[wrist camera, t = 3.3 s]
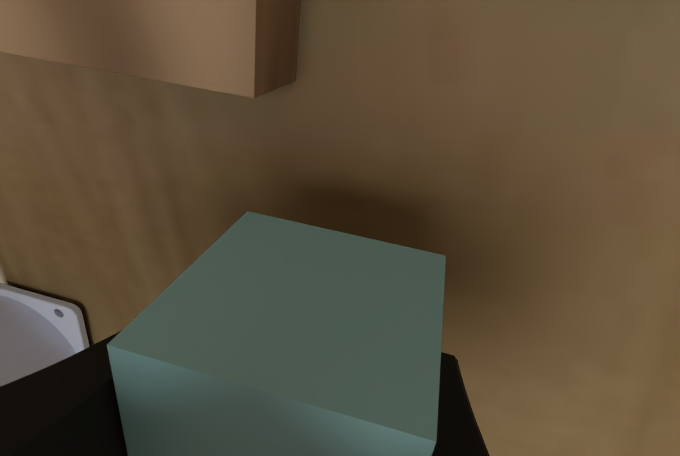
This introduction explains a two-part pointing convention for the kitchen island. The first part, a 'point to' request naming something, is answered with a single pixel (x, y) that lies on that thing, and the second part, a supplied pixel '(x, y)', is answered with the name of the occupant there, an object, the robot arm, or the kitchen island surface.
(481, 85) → the kitchen island surface
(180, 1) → the walnut block
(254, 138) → the kitchen island surface
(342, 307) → the teal cube
